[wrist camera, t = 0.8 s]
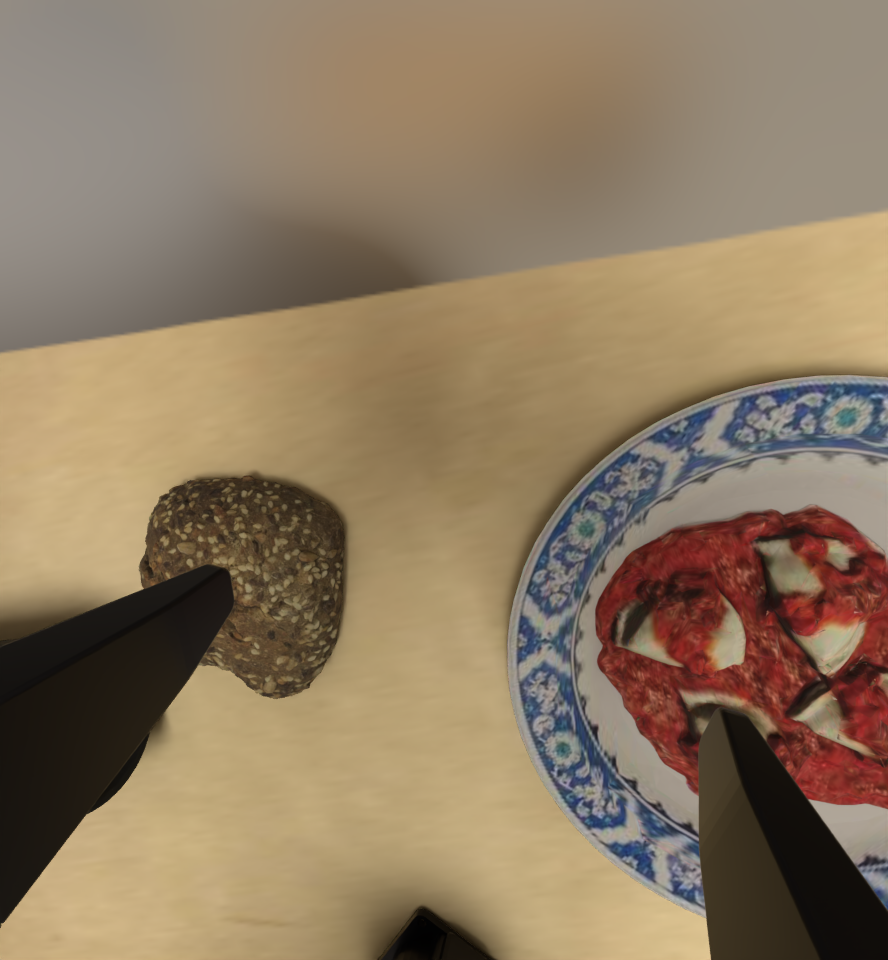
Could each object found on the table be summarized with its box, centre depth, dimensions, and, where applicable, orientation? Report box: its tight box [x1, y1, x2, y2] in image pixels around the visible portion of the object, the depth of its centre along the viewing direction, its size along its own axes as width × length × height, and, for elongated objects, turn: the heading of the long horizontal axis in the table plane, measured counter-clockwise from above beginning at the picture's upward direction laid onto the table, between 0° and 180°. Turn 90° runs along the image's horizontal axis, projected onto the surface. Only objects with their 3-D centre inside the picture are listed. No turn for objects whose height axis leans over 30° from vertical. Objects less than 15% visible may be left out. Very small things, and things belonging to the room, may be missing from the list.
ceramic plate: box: [507, 375, 888, 918], centre depth 23 cm, size 26×26×3 cm
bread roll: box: [139, 476, 344, 699], centre depth 28 cm, size 13×12×5 cm
